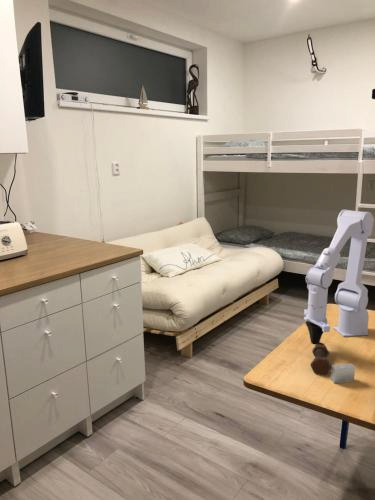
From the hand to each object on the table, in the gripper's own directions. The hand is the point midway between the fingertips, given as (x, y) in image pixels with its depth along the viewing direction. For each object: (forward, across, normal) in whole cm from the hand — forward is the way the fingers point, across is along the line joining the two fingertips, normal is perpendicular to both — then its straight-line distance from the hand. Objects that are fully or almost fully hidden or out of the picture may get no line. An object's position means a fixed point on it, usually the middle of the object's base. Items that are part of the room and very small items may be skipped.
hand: (314, 343), depth 134 cm
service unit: (+2, +19, 0) cm, 19 cm away
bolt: (+3, +8, -2) cm, 9 cm away
